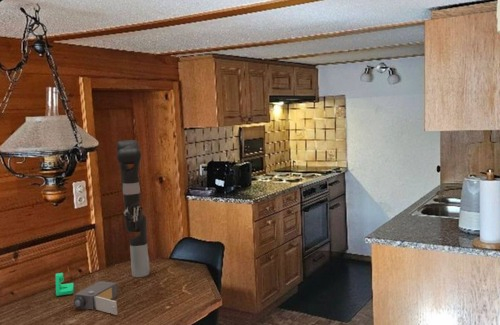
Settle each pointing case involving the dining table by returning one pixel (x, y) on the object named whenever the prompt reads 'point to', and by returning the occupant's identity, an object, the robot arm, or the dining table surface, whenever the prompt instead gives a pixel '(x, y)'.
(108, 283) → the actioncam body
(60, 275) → the camera mount
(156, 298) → the dining table surface
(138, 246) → the robot arm
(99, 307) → the side door
